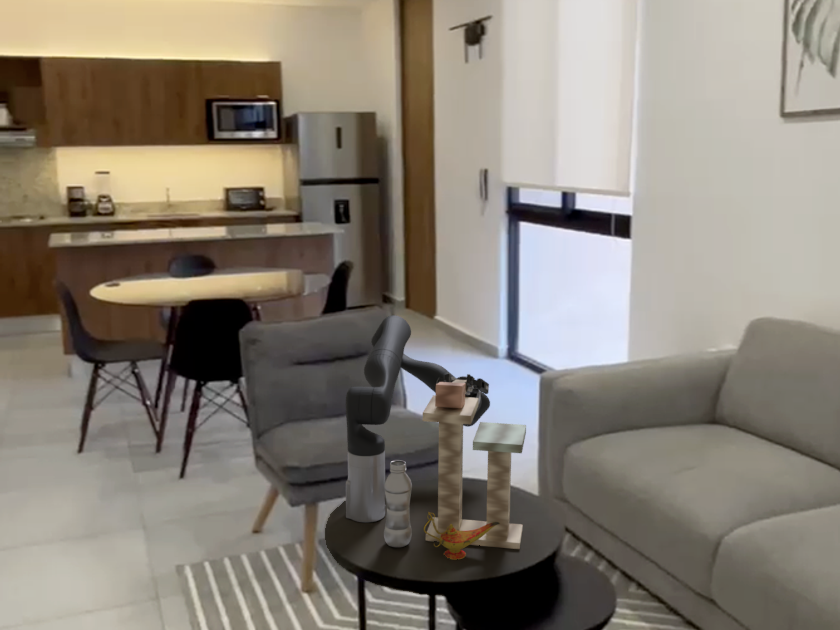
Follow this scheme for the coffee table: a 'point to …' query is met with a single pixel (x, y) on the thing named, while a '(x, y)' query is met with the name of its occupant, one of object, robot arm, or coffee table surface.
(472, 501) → the coffee table surface
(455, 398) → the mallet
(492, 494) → the stepped stand
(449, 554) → the magic lamp
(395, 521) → the plastic bottle
